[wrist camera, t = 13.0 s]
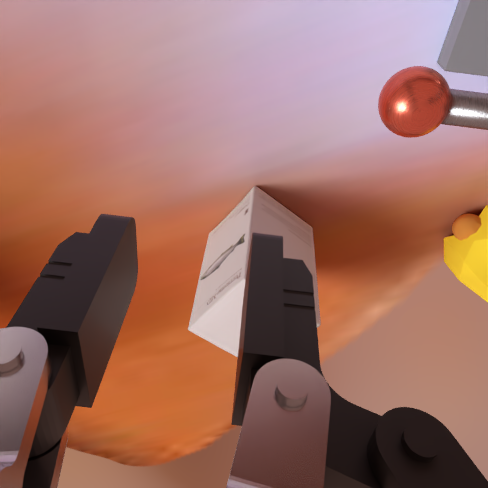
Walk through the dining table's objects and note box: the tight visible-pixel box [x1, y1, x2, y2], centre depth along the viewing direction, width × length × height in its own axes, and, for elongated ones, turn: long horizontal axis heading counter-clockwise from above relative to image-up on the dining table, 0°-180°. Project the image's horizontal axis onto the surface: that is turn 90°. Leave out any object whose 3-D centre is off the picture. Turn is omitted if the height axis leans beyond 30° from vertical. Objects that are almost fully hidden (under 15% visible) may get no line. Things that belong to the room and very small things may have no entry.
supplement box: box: [188, 186, 320, 357], centre depth 39 cm, size 7×7×13 cm
